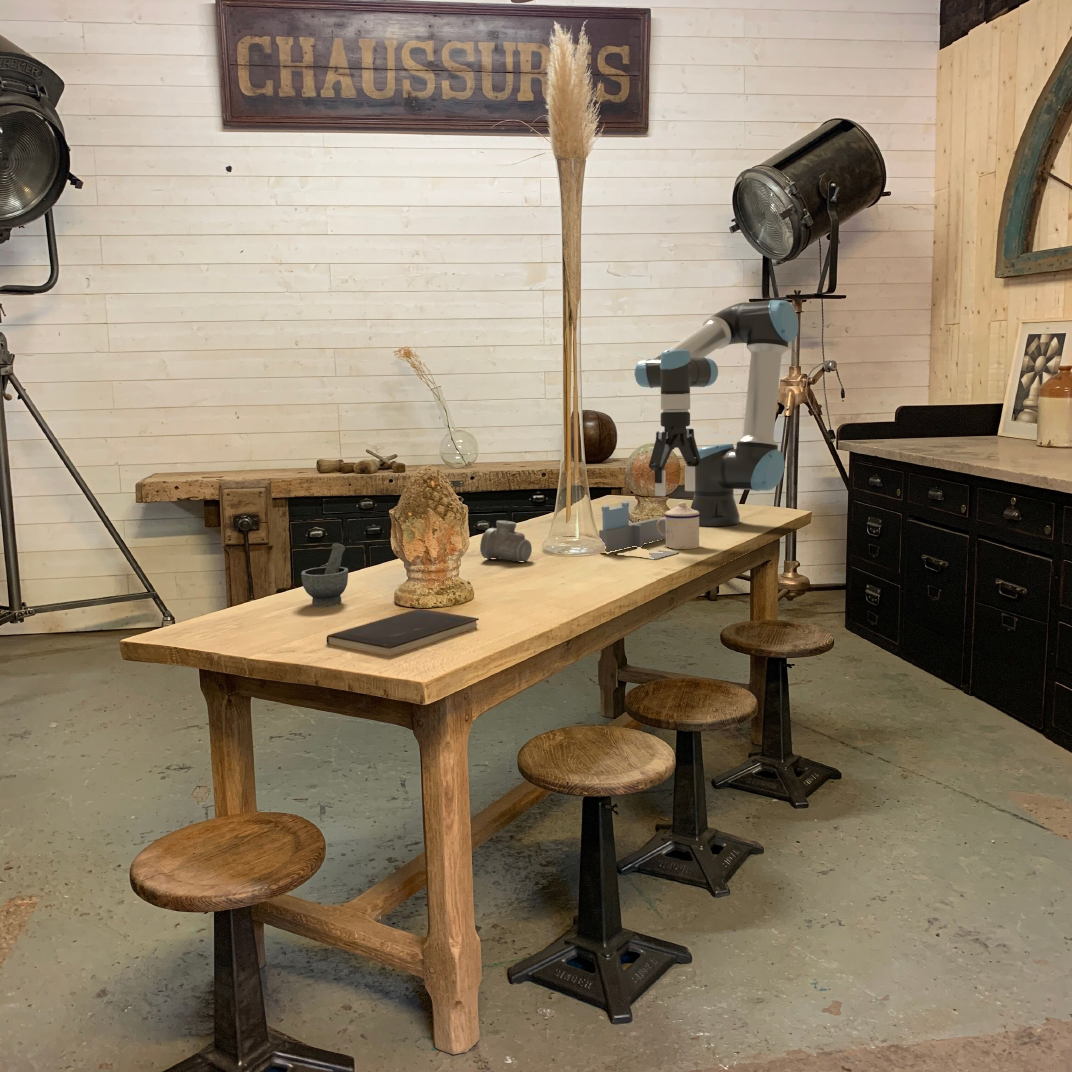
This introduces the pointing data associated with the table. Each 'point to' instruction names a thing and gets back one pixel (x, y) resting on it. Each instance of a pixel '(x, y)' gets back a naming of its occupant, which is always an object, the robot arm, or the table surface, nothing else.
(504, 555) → the pipe fitting
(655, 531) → the bay rack
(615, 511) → the blue bezel
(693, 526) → the teacup with lid
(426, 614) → the hardcover book
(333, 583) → the mortar and pestle
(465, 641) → the table surface
